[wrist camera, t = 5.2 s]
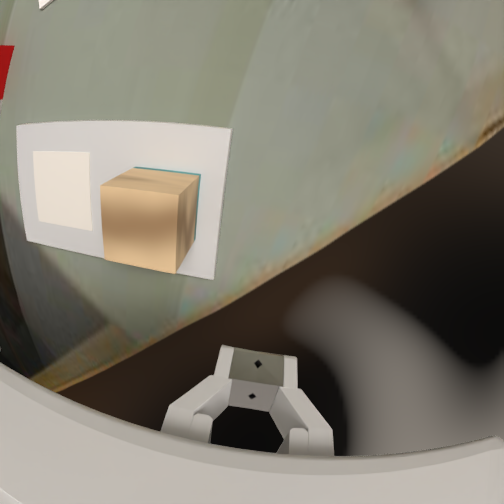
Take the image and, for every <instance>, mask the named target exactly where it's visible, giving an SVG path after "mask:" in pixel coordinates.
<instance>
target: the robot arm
mask: <svg viewBox="0 0 504 504" xmlns="http://www.w3.org/2000/svg"><path fill="white" fill-rule="evenodd" d="M0 351H1V348H0ZM228 405H230V406H237V407H244V408H251V409H256V410H262V411H269V412H270V415H271V416H272V418H273V420H274V422H275V424H276V426H277V427H278V429H279V431H280V433H281V435H282V436H283V438H284V441H283V443H282V445H281V446H280V448H279V450H278V451H277V453H268V452H259V451H252V450H244V449H238V448H231V447H226V446H219V445H214V444H210V439H211V430H212V421H213V420H214V419H215V418H216V417H217V416H218V415H219V414H220V413H221V412H222V411H223V410H224V409H226V407H227V406H228ZM0 504H504V440H502V439H501V438H500V437H498V436H489V437H485V438H482V439H478V440H474V441H469V442H465V443H461V444H456V445H451V446H446V447H440V448H434V449H428V450H421V451H414V452H405V453H396V454H384V455H370V456H369V455H368V456H334V448H333V434H332V429H331V427H330V426H329V425H328V423H327V422H326V421H325V420H324V418H323V417H322V416H321V414H320V413H319V412H318V411H317V409H316V408H315V407H314V405H313V404H312V403H311V402H310V400H309V399H308V398H307V396H306V395H305V394H304V392H303V391H302V390H301V389H297V358H296V357H293V356H286V355H284V356H283V355H279V354H271V353H264V352H256V351H251V350H246V349H241V348H234V347H230V346H225V345H222V346H221V348H220V352H219V356H218V360H217V364H216V369H215V373H214V376H213V375H210V376H208V377H207V378H206V379H204V380H203V381H202V382H200V383H199V384H198V385H196V386H195V387H194V388H192V389H191V390H190V391H188V392H187V393H186V394H184V395H183V396H182V397H180V398H179V399H177V400H176V401H175V402H173V403H172V404H170V405H169V408H168V411H167V414H166V416H165V419H164V422H163V425H162V429H161V431H160V432H159V431H155V430H152V429H149V428H145V427H142V426H138V425H135V424H132V423H130V422H126V421H124V420H121V419H118V418H115V417H112V416H109V415H107V414H104V413H101V412H99V411H96V410H94V409H91V408H89V407H86V406H84V405H82V404H79V403H77V402H75V401H72V400H70V399H68V398H66V397H64V396H61V395H59V394H57V393H55V392H53V391H51V390H49V389H47V388H45V387H43V386H41V385H39V384H37V383H35V382H33V381H31V380H30V379H28V378H26V377H24V376H22V375H21V374H19V373H17V372H15V371H14V370H12V369H10V368H9V367H7V366H5V365H4V364H2V363H0Z"/></svg>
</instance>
